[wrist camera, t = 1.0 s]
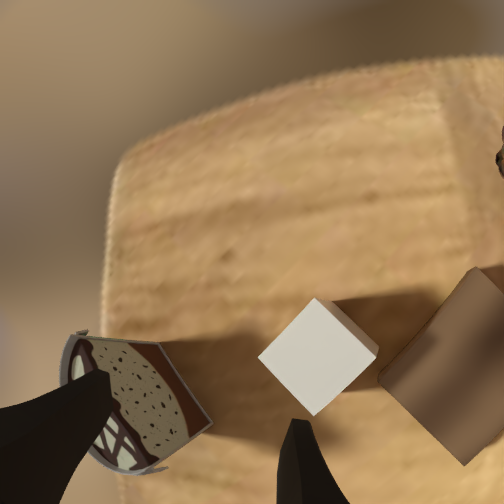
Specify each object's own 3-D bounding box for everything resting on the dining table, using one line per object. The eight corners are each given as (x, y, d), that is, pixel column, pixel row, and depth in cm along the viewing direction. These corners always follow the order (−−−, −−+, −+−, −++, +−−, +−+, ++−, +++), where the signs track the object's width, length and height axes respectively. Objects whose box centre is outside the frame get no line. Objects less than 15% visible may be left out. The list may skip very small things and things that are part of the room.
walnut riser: (541, 353, 16) (558, 357, 13) (457, 450, 17) (464, 466, 15) (466, 271, 20) (476, 266, 17) (378, 373, 21) (377, 381, 19)
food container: (119, 363, 31) (41, 369, 22) (151, 329, 30) (67, 328, 21) (182, 462, 26) (109, 498, 17) (224, 436, 25) (149, 477, 16)
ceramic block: (379, 346, 22) (376, 357, 16) (331, 393, 22) (313, 416, 17) (332, 301, 24) (314, 297, 18) (287, 348, 24) (257, 357, 19)
